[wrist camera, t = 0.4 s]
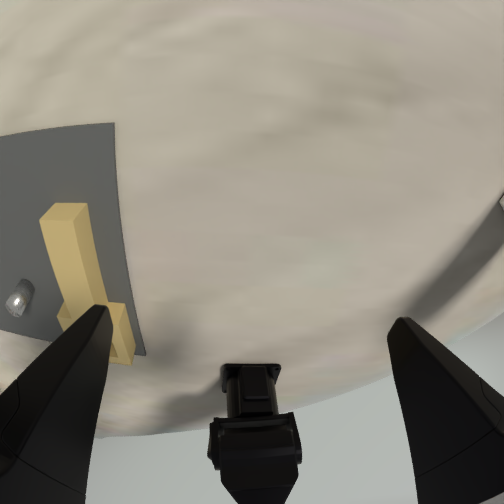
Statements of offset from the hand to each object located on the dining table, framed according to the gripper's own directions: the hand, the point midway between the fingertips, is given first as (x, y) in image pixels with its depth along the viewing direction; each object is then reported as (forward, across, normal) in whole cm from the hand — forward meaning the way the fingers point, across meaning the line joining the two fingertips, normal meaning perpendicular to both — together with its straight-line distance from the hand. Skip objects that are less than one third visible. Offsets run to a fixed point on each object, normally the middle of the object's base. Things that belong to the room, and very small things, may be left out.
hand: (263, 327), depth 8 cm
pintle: (+13, +20, +12) cm, 27 cm away
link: (+13, +12, +11) cm, 21 cm away
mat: (+13, +21, +9) cm, 27 cm away
